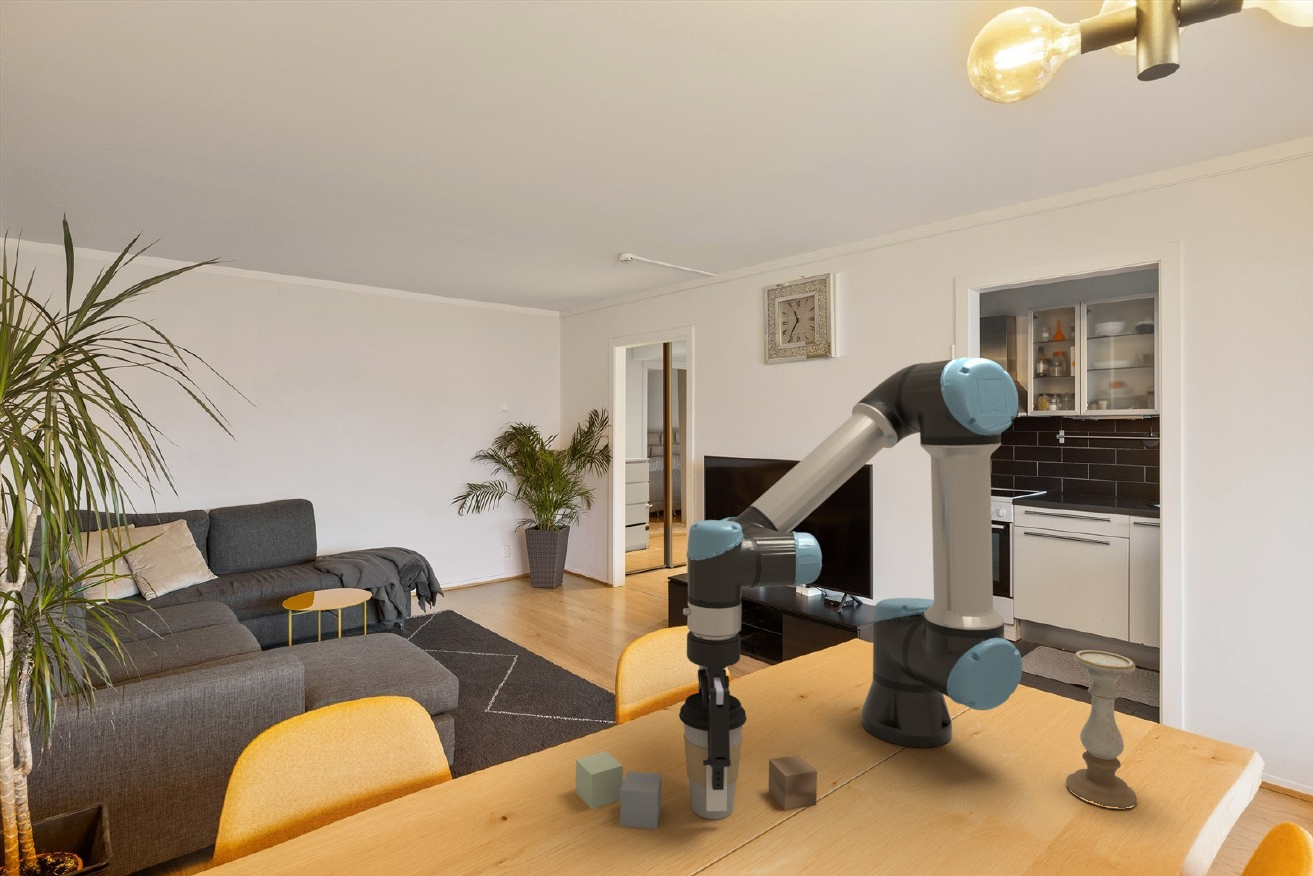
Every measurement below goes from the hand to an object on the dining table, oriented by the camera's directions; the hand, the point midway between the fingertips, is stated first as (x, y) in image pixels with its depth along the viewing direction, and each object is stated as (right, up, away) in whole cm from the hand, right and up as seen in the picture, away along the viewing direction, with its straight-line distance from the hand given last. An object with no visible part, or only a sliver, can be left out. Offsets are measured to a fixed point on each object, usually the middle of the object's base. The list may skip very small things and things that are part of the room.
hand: (711, 790), depth 97 cm
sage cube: (-16, -2, +3) cm, 17 cm away
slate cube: (-10, -3, -2) cm, 11 cm away
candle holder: (+58, -3, +5) cm, 58 cm away
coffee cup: (0, -3, 0) cm, 3 cm away
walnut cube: (+12, -3, +3) cm, 12 cm away
